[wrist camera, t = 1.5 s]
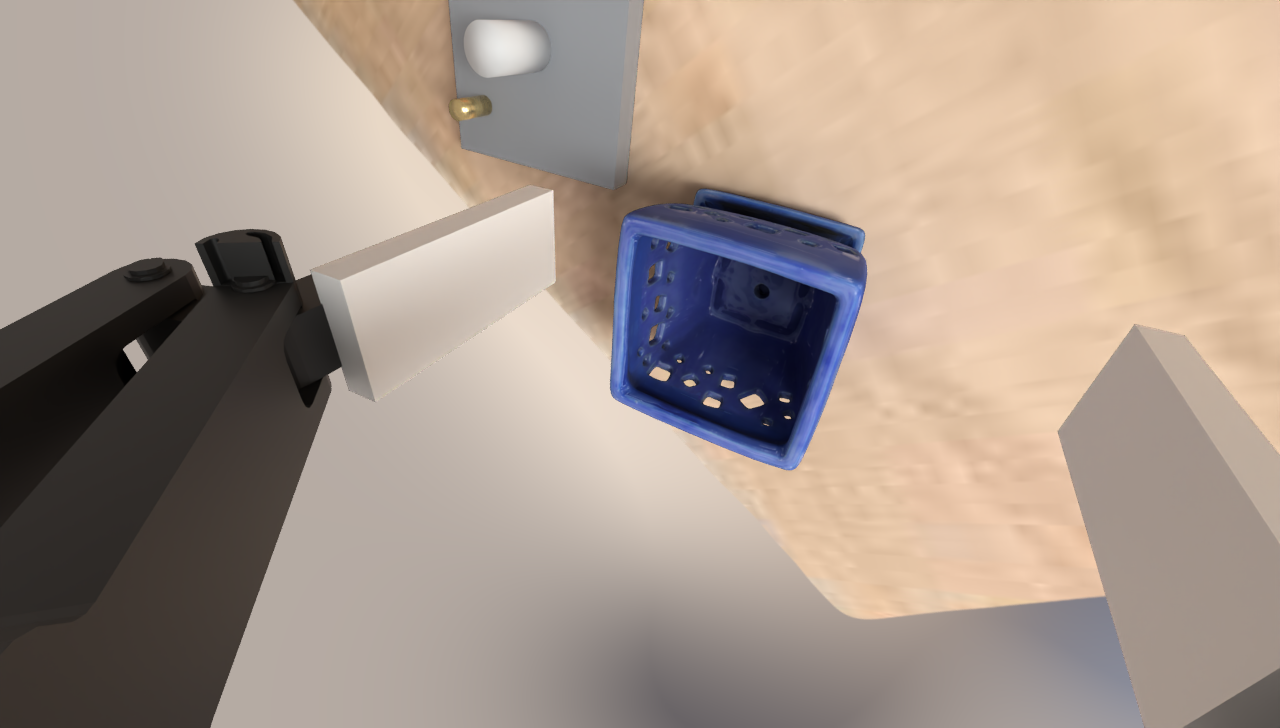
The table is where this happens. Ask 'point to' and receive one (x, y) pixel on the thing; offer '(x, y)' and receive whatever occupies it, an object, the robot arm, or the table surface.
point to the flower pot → (735, 318)
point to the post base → (550, 82)
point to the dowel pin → (470, 107)
